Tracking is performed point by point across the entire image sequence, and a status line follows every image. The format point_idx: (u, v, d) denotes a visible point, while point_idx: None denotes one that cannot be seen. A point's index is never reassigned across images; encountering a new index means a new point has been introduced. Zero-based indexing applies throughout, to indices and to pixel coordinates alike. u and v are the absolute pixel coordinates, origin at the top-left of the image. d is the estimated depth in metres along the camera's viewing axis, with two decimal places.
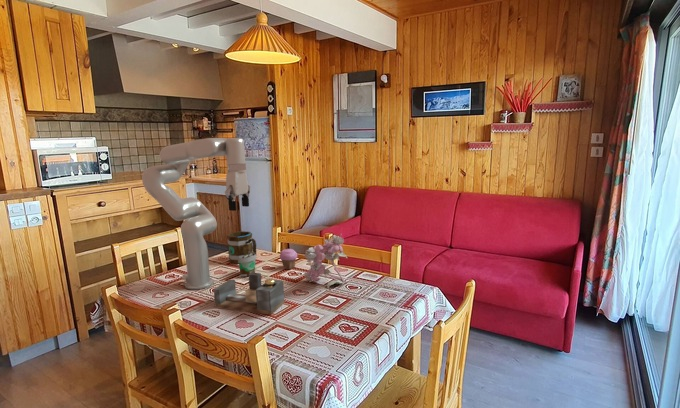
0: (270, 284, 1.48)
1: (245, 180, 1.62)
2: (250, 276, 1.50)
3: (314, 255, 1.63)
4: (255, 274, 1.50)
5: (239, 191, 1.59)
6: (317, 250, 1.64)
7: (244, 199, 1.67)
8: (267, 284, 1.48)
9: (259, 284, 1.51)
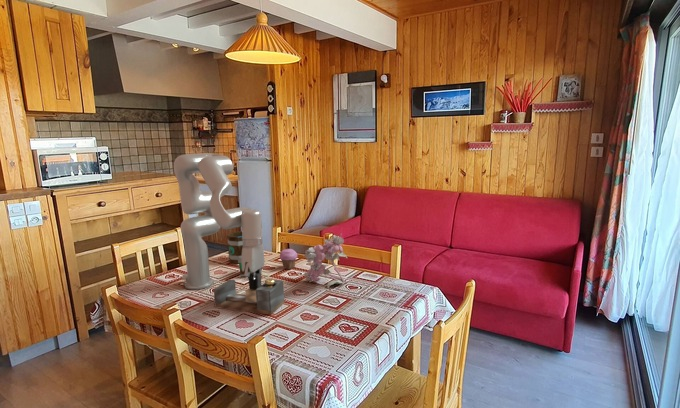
0: (270, 284, 1.48)
1: (261, 254, 1.51)
2: None
3: (314, 255, 1.63)
4: (255, 274, 1.50)
5: (256, 267, 1.47)
6: (317, 250, 1.64)
7: None
8: (267, 284, 1.48)
9: (259, 284, 1.51)
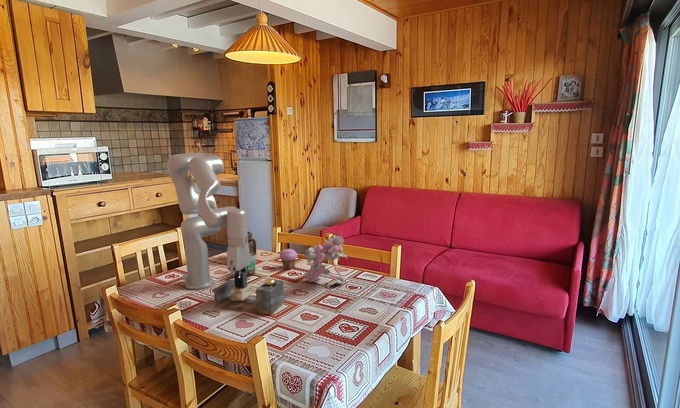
0: (270, 284, 1.48)
1: (247, 252, 1.53)
2: None
3: (314, 255, 1.63)
4: (241, 273, 1.52)
5: (241, 266, 1.49)
6: (317, 250, 1.64)
7: None
8: (267, 284, 1.48)
9: (245, 282, 1.53)
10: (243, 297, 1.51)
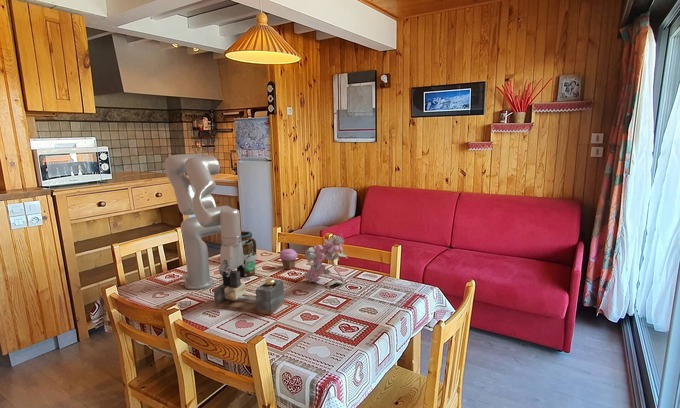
0: (270, 284, 1.48)
1: (240, 252, 1.54)
2: None
3: (314, 255, 1.63)
4: (234, 272, 1.53)
5: (234, 265, 1.50)
6: (317, 250, 1.64)
7: (240, 270, 1.58)
8: (267, 284, 1.48)
9: (238, 282, 1.54)
10: (236, 296, 1.52)
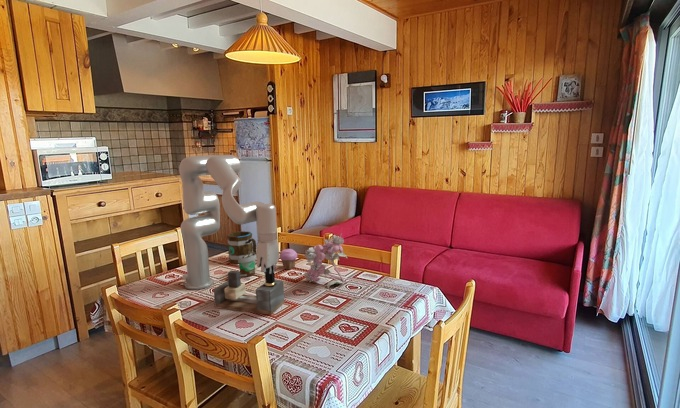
0: (270, 286, 1.48)
1: (276, 249, 1.48)
2: (229, 274, 1.53)
3: (314, 255, 1.63)
4: (234, 272, 1.53)
5: (271, 262, 1.45)
6: (317, 250, 1.64)
7: None
8: (267, 286, 1.48)
9: (238, 282, 1.54)
10: (236, 296, 1.52)
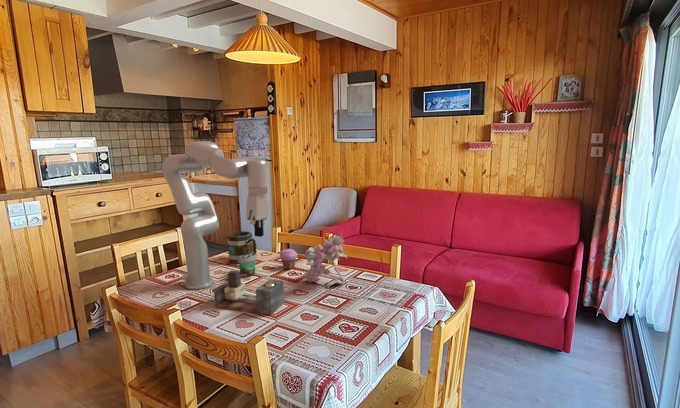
0: None
1: (266, 204, 1.54)
2: (229, 274, 1.53)
3: (314, 255, 1.63)
4: (234, 272, 1.53)
5: (260, 216, 1.51)
6: (317, 250, 1.64)
7: None
8: None
9: (238, 282, 1.54)
10: (236, 296, 1.52)
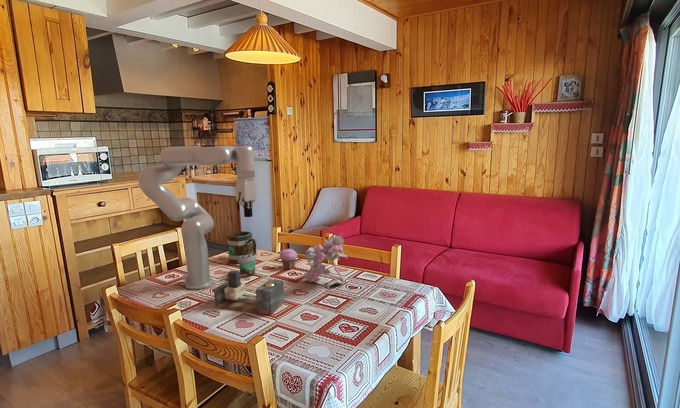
0: None
1: (254, 187, 1.68)
2: (229, 274, 1.53)
3: (314, 255, 1.63)
4: (234, 272, 1.53)
5: (248, 197, 1.64)
6: (317, 250, 1.64)
7: None
8: None
9: (238, 282, 1.54)
10: (236, 296, 1.52)
